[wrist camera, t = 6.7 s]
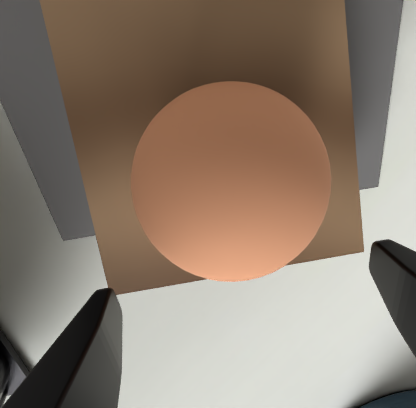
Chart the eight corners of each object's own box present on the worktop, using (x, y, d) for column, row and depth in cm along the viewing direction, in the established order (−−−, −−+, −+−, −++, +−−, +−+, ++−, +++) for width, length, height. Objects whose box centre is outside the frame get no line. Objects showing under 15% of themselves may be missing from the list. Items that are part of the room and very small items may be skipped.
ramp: (316, 196, 17) (362, 260, 13) (126, 229, 16) (113, 304, 12) (324, -63, 11) (406, -91, 7) (46, -19, 11) (-18, -22, 7)
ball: (285, 138, 12) (320, 15, 8) (326, 279, 11) (404, 227, 6) (145, 161, 12) (96, 51, 8) (160, 307, 11) (109, 277, 6)
